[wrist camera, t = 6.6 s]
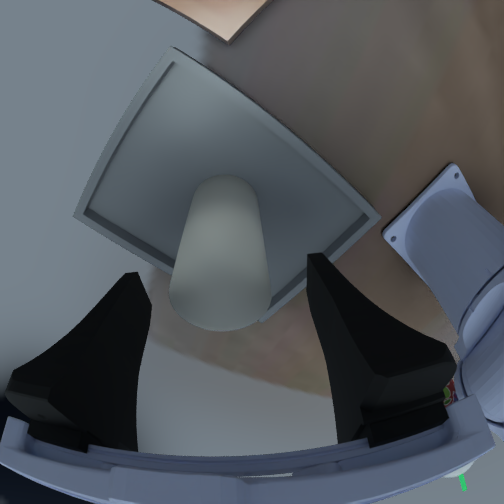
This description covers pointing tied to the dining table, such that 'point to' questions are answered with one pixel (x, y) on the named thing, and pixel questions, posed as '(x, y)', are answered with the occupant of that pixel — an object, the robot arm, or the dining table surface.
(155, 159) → the tray
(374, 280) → the dining table surface
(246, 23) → the shallow square box
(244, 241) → the peg
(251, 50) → the dining table surface
